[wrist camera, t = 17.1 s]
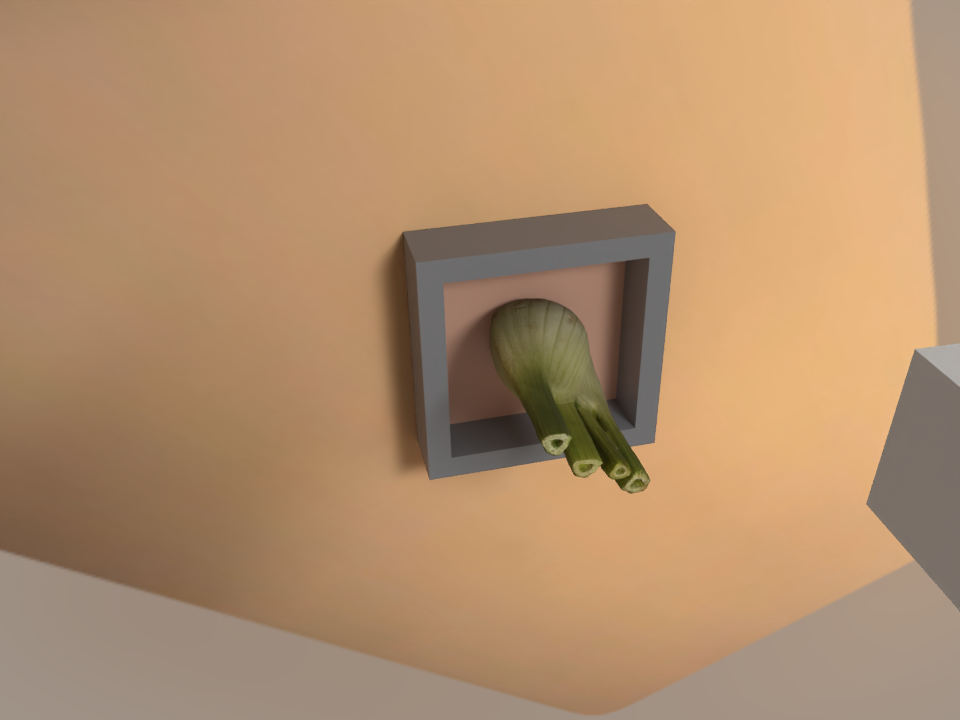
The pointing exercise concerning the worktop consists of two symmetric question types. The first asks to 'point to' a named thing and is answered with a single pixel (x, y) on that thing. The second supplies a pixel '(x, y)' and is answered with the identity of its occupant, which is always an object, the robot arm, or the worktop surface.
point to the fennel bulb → (561, 389)
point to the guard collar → (533, 274)
